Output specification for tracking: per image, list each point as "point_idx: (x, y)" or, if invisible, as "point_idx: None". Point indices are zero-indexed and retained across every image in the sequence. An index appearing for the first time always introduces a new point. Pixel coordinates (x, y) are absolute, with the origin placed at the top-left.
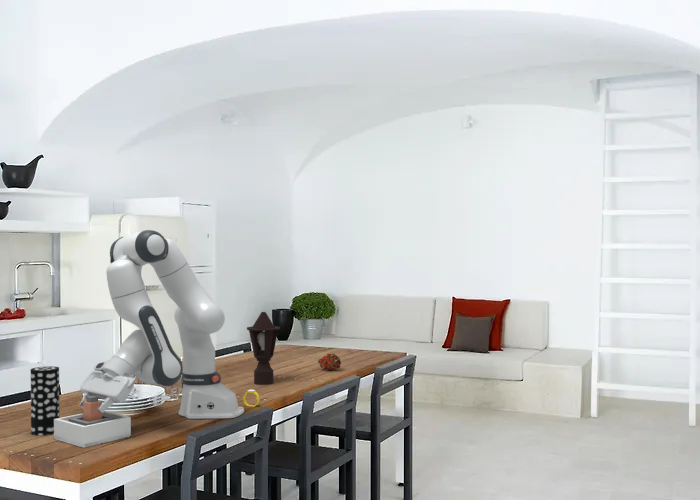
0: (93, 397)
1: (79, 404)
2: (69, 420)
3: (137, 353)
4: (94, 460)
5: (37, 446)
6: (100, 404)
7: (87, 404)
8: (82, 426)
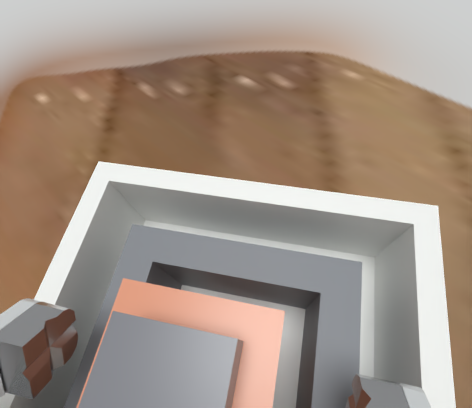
0: (96, 357)
1: (418, 388)
2: (344, 262)
3: None
4: (13, 129)
5: (329, 142)
6: (12, 343)
7: (184, 292)
8: (114, 166)
